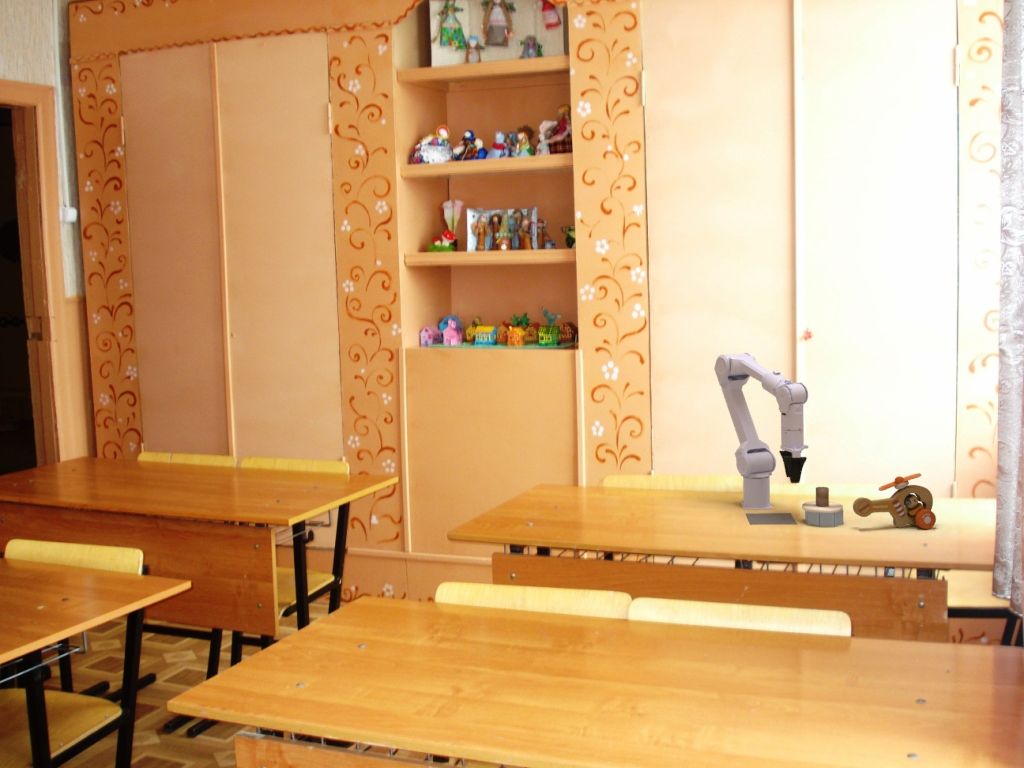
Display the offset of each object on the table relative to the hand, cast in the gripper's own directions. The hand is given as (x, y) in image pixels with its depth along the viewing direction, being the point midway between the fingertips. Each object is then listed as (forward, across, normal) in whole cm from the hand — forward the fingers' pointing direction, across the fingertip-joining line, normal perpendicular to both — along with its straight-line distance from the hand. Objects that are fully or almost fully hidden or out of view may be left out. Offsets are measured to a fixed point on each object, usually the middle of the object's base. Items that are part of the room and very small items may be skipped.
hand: (792, 479), depth 263 cm
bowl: (+10, -6, -7) cm, 14 cm away
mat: (+10, -2, +6) cm, 12 cm away
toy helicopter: (+11, -10, -24) cm, 28 cm away
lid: (+6, -6, -6) cm, 11 cm away
